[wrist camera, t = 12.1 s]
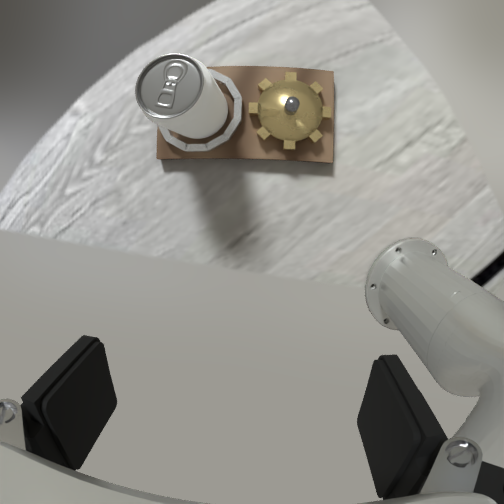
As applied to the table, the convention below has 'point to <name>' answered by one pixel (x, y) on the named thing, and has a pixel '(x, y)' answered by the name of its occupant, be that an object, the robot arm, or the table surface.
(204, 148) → the ring
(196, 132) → the can
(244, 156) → the gear board
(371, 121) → the table surface
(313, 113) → the gear
